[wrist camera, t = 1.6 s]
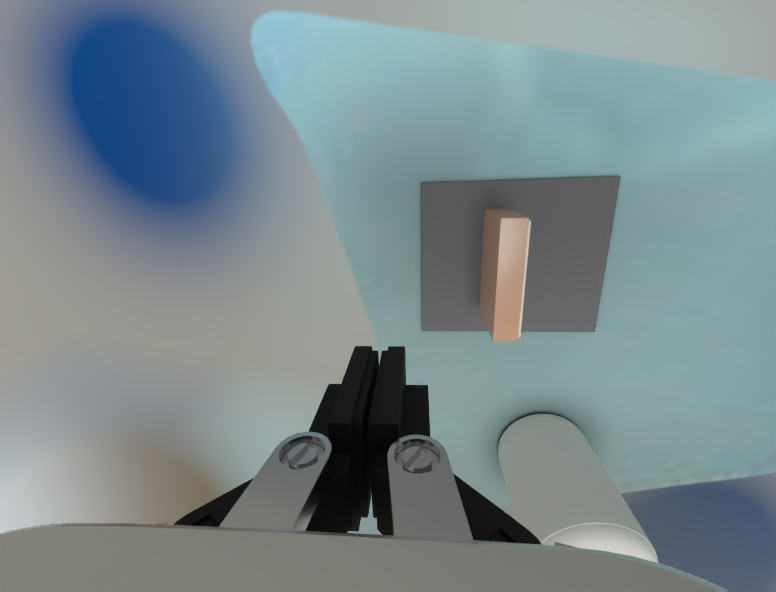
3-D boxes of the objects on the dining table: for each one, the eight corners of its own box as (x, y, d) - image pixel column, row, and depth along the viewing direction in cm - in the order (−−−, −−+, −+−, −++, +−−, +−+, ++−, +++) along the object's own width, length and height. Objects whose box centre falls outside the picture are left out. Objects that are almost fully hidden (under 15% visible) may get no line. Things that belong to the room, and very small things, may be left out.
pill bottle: (517, 490, 36) (580, 698, 21) (482, 429, 34) (525, 615, 20) (597, 462, 34) (723, 671, 20) (564, 397, 32) (678, 577, 18)
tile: (509, 208, 27) (532, 217, 21) (501, 308, 29) (520, 341, 24) (484, 208, 27) (500, 218, 21) (479, 308, 29) (492, 341, 24)
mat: (617, 176, 26) (620, 176, 25) (592, 329, 30) (594, 331, 29) (421, 182, 27) (421, 183, 27) (421, 328, 31) (421, 330, 31)
